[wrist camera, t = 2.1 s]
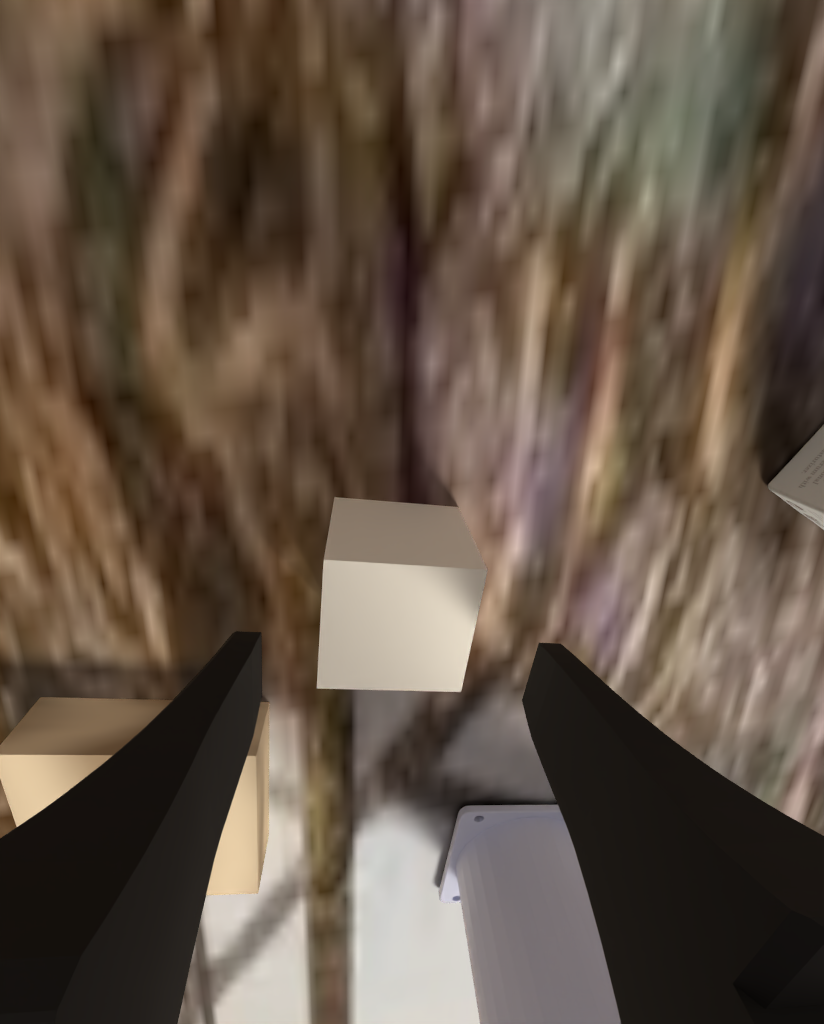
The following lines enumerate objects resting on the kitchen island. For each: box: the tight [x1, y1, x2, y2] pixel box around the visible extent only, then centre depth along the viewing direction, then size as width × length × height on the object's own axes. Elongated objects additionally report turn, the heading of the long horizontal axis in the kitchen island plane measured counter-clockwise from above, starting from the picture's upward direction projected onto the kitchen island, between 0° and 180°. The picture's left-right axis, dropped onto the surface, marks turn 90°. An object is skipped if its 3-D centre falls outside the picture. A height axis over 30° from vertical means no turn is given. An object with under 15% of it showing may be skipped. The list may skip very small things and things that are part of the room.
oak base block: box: [0, 697, 269, 895], centre depth 20 cm, size 9×9×3 cm
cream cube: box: [317, 497, 488, 692], centre depth 15 cm, size 4×4×4 cm
